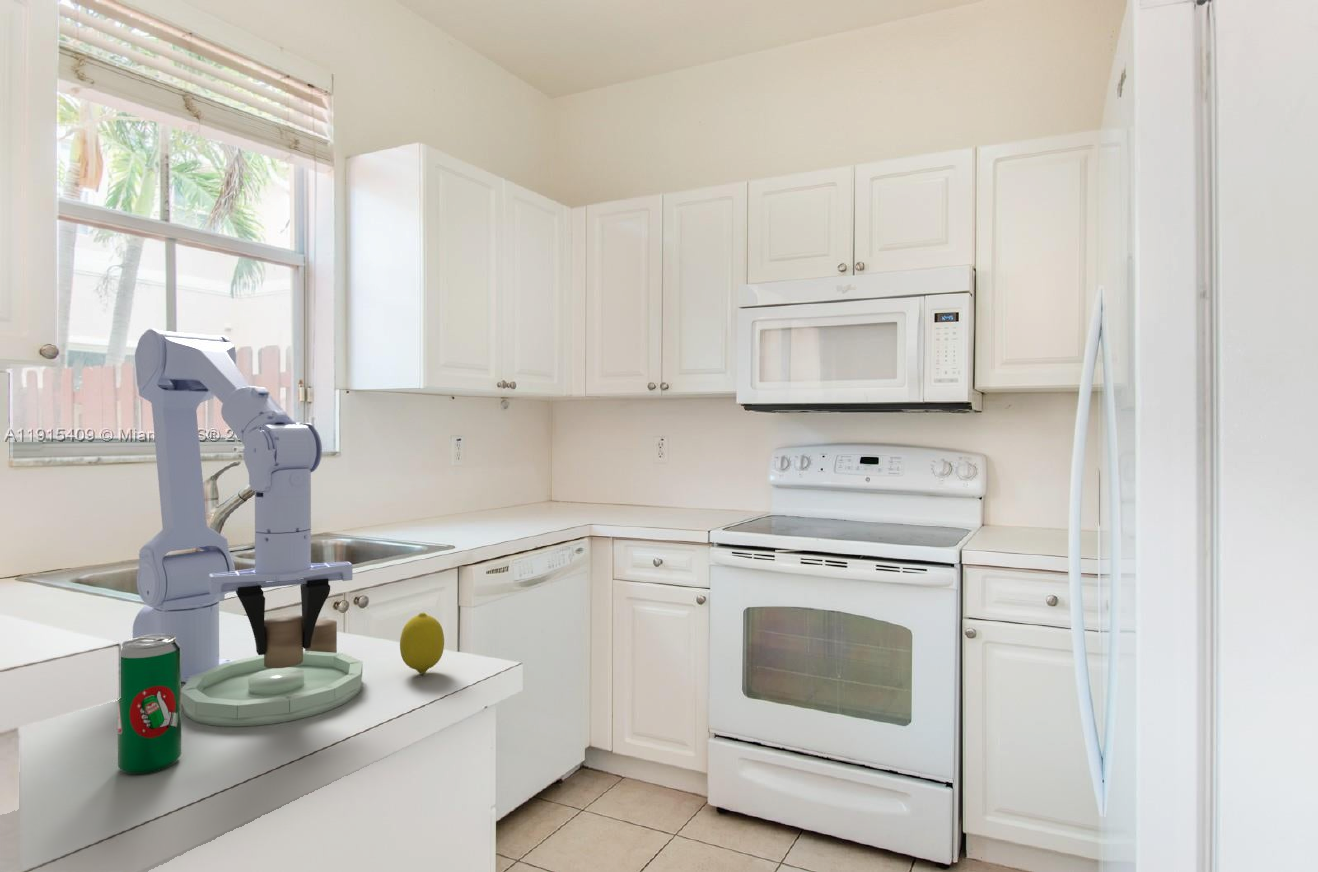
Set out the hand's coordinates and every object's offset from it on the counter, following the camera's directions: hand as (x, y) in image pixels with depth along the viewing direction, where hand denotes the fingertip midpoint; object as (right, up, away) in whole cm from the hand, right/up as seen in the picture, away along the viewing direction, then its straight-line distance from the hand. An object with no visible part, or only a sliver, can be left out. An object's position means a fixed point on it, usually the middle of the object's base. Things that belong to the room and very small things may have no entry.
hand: (283, 649), depth 88 cm
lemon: (+12, -7, +13) cm, 19 cm away
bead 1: (0, -2, 0) cm, 2 cm away
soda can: (-6, -7, -14) cm, 17 cm away
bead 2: (-4, -7, +19) cm, 20 cm away
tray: (-3, -7, +5) cm, 9 cm away
